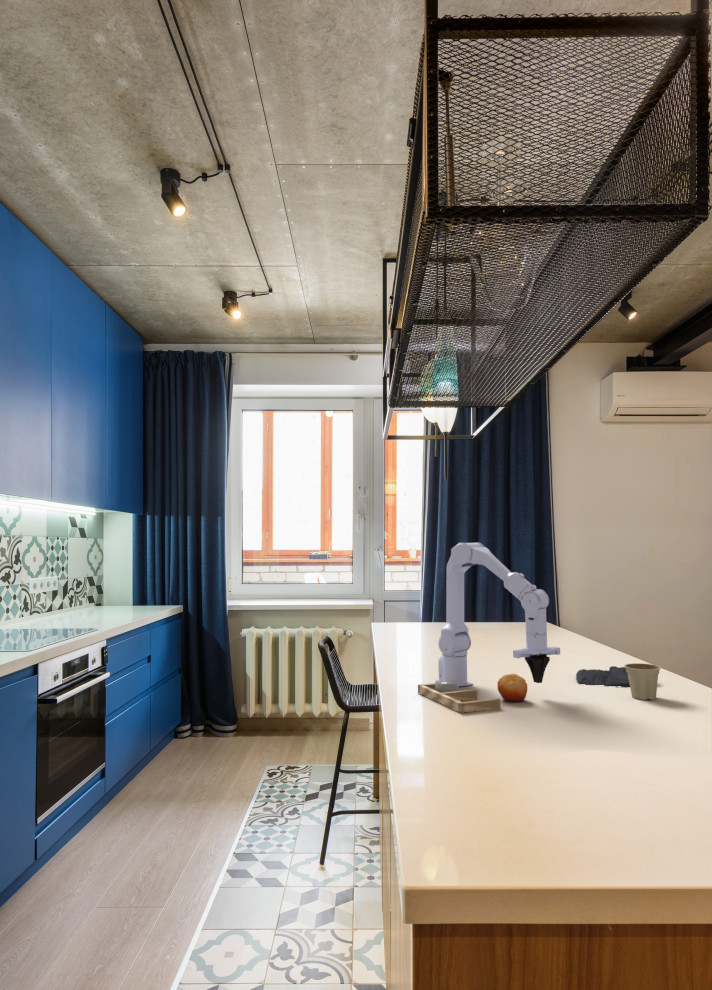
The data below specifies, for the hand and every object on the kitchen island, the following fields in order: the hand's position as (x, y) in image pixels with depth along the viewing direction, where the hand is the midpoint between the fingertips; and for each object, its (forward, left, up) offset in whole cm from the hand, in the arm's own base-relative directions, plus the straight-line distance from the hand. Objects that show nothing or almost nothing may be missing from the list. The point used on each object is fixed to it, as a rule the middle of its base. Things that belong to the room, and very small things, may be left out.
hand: (537, 682), depth 184 cm
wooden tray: (-6, -23, -4) cm, 24 cm away
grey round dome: (-12, -23, -4) cm, 26 cm away
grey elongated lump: (-8, +34, -5) cm, 35 cm away
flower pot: (+12, +26, -4) cm, 29 cm away
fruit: (0, -9, -4) cm, 10 cm away
